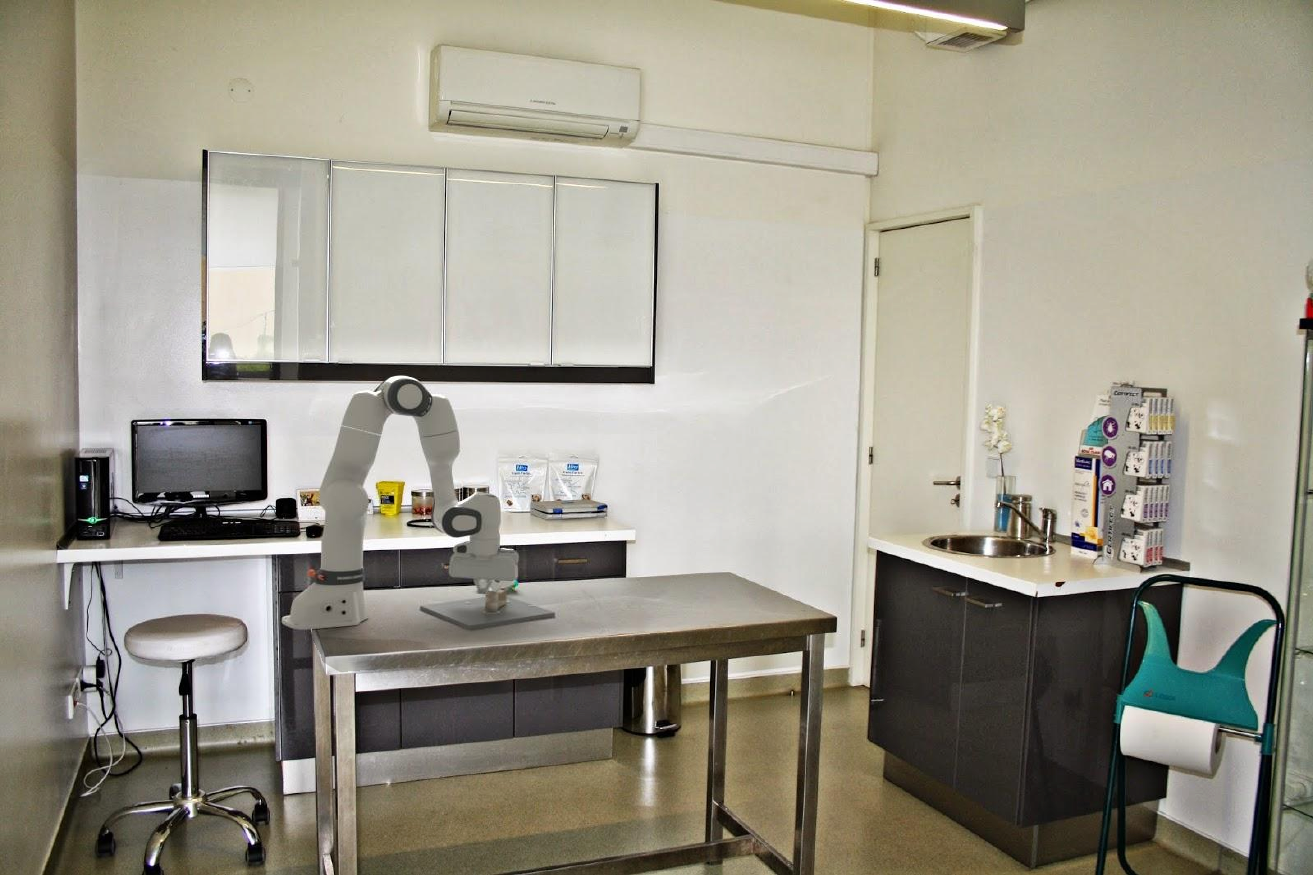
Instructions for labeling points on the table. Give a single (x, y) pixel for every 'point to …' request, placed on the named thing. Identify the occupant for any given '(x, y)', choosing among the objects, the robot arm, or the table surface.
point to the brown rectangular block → (495, 600)
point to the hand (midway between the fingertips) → (482, 593)
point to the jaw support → (499, 584)
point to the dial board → (475, 616)
